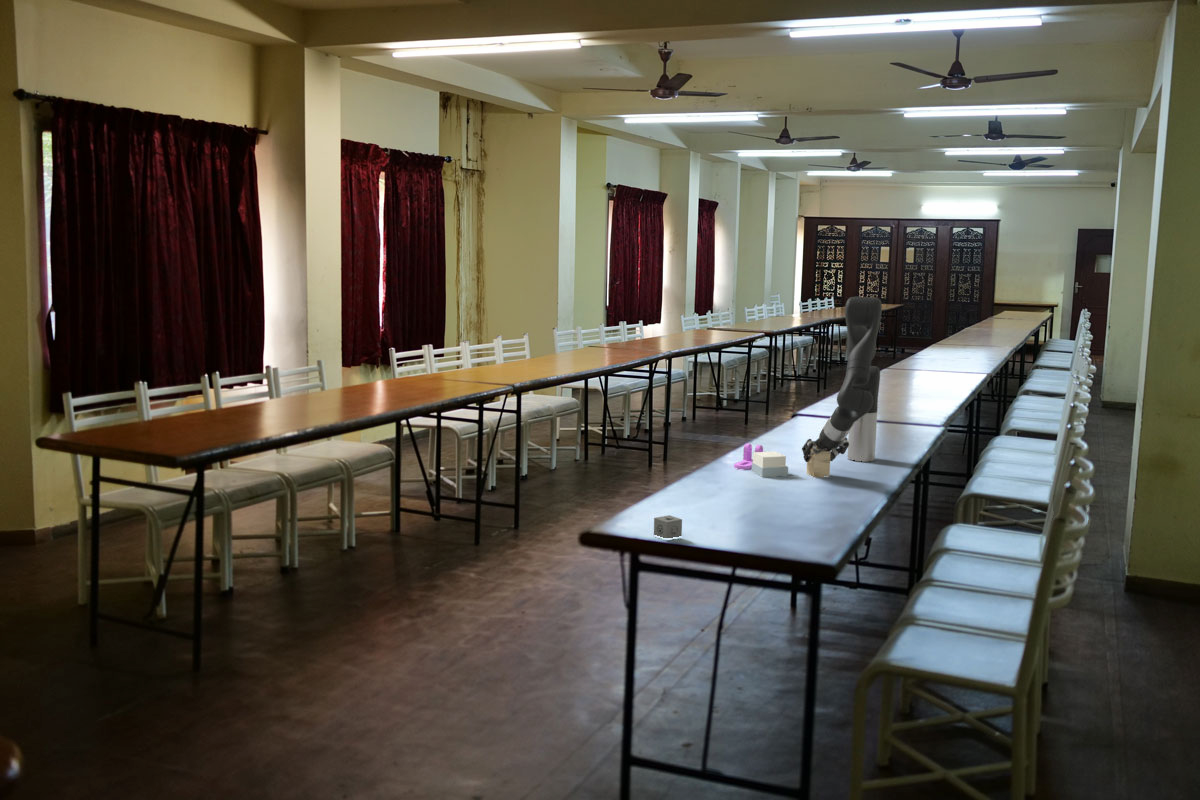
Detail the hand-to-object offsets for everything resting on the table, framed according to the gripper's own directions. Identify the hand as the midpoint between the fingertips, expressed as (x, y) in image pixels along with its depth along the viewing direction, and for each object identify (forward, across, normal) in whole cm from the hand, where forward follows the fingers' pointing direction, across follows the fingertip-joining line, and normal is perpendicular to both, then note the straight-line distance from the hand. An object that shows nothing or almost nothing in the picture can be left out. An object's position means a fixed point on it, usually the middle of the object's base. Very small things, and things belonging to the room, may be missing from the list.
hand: (817, 459), depth 342 cm
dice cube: (-41, +71, +49) cm, 95 cm away
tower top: (+5, +15, -2) cm, 16 cm away
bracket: (+16, +18, -8) cm, 25 cm away
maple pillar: (+3, 0, +4) cm, 5 cm away
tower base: (+7, +15, +1) cm, 16 cm away
